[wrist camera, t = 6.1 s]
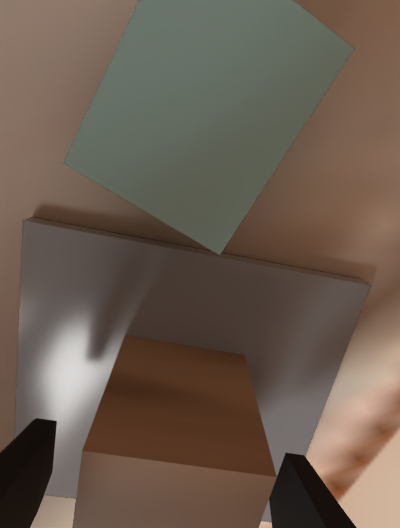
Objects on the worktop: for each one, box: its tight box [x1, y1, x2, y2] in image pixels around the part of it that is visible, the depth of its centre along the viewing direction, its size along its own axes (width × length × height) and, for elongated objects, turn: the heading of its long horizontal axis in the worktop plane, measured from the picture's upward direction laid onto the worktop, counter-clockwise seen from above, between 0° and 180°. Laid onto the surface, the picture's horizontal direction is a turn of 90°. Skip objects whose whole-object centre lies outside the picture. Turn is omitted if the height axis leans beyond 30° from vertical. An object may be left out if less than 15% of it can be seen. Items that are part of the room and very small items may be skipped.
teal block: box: [63, 0, 354, 255], centre depth 9 cm, size 5×4×4 cm
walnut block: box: [73, 335, 277, 528], centre depth 11 cm, size 4×4×5 cm
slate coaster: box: [14, 217, 371, 522], centre depth 13 cm, size 12×12×1 cm
